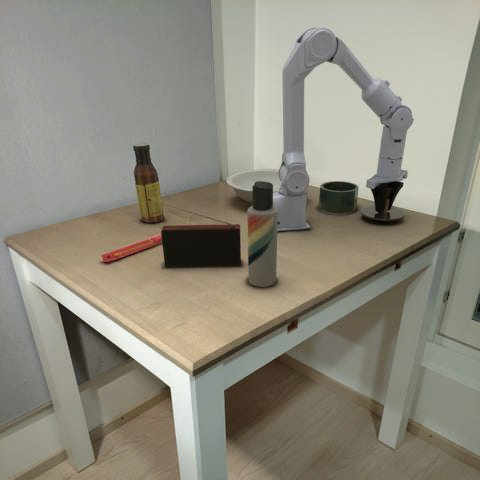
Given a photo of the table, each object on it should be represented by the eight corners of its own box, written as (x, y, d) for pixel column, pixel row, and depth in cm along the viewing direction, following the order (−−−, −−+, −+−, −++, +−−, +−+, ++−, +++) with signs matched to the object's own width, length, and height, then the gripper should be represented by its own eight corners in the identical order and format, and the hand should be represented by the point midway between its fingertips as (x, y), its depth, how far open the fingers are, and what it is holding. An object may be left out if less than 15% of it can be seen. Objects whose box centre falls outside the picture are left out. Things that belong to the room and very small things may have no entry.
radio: (240, 260, 105) (239, 193, 97) (240, 266, 102) (239, 198, 95) (157, 261, 105) (149, 195, 97) (155, 267, 103) (147, 199, 95)
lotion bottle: (259, 272, 99) (259, 177, 89) (281, 279, 96) (284, 181, 86) (242, 282, 96) (240, 183, 85) (265, 290, 93) (265, 189, 82)
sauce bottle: (166, 216, 131) (158, 141, 120) (161, 224, 126) (152, 146, 115) (143, 216, 132) (133, 141, 121) (137, 223, 126) (126, 146, 116)
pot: (325, 216, 129) (327, 193, 125) (314, 204, 137) (315, 182, 134) (361, 213, 130) (364, 190, 126) (348, 202, 139) (350, 180, 135)
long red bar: (100, 263, 107) (109, 262, 103) (97, 254, 106) (106, 253, 103) (181, 234, 121) (192, 232, 118) (179, 225, 121) (190, 224, 117)
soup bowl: (215, 211, 134) (214, 188, 130) (240, 187, 153) (240, 166, 150) (299, 218, 128) (300, 193, 124) (313, 192, 147) (315, 171, 144)
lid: (370, 224, 118) (372, 206, 116) (354, 210, 128) (355, 193, 125) (412, 221, 120) (415, 203, 117) (392, 207, 129) (395, 190, 127)
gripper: (386, 164, 109) (378, 220, 116) (421, 155, 117) (412, 208, 124) (362, 159, 114) (355, 213, 121) (397, 150, 122) (389, 202, 129)
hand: (382, 210), depth 123 cm, fingers closed on lid, 2 cm apart
